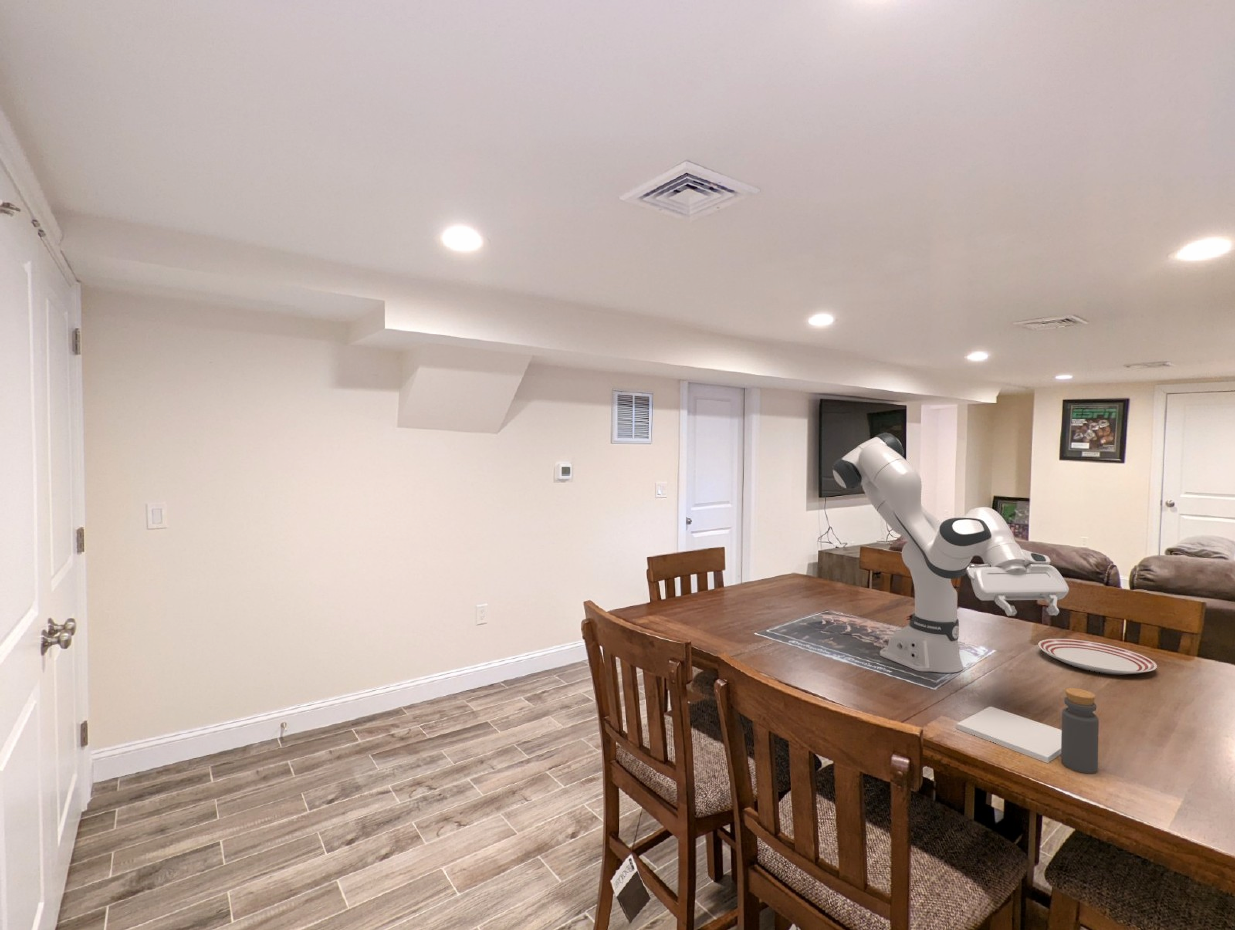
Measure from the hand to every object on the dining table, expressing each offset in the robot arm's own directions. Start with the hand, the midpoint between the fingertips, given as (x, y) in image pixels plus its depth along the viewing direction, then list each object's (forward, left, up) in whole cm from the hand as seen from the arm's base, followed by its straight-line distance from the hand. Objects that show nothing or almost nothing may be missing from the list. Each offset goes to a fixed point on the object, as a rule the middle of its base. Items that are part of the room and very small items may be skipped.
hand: (1033, 614), depth 136 cm
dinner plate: (-7, +60, -26) cm, 66 cm away
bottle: (+13, -12, -26) cm, 31 cm away
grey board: (0, -8, -26) cm, 27 cm away
